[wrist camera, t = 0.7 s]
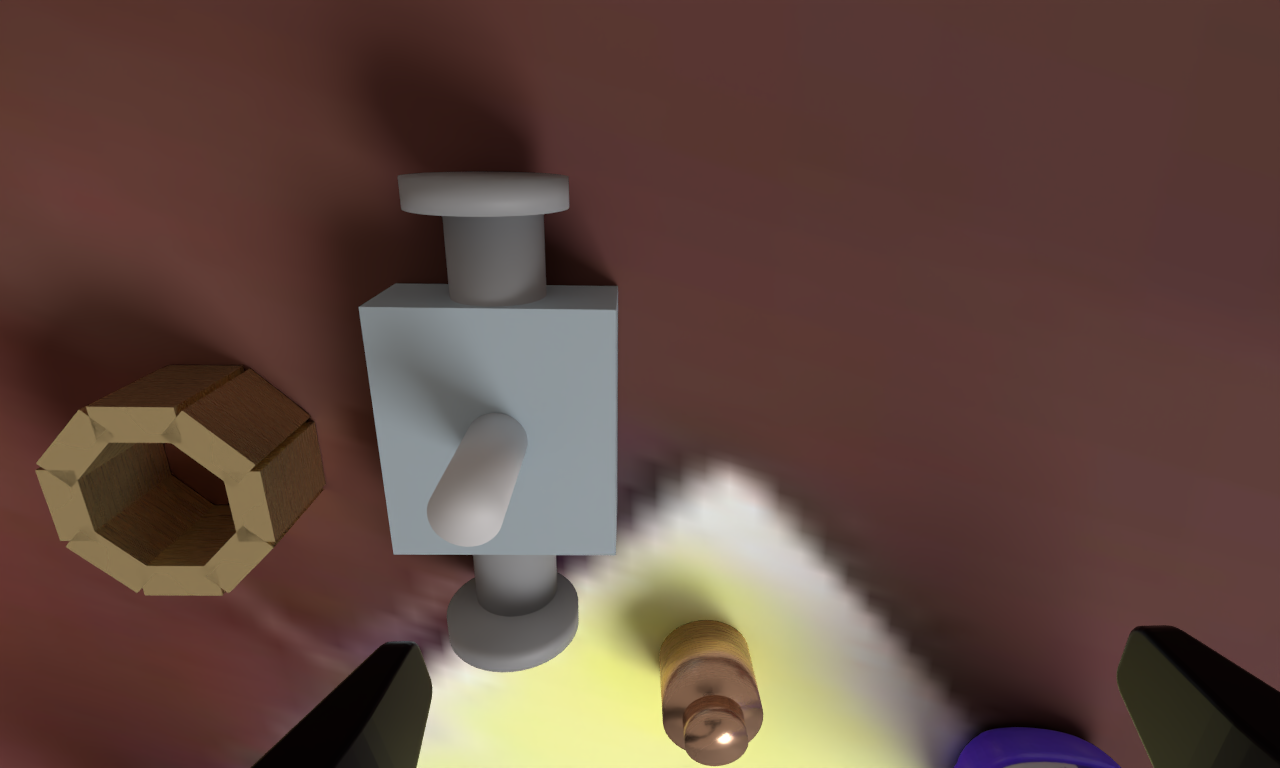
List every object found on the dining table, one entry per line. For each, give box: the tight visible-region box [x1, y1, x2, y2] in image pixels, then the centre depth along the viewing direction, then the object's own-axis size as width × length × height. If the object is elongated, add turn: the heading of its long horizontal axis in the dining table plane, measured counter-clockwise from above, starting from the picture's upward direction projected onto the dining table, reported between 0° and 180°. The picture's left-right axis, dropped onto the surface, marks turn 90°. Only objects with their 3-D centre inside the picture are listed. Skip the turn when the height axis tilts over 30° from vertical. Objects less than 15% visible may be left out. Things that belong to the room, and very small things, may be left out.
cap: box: [659, 620, 763, 766], centre depth 24 cm, size 4×4×4 cm
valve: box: [359, 172, 618, 672], centre depth 19 cm, size 15×7×7 cm, turn 179°
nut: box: [35, 365, 326, 595], centre depth 21 cm, size 6×6×4 cm
